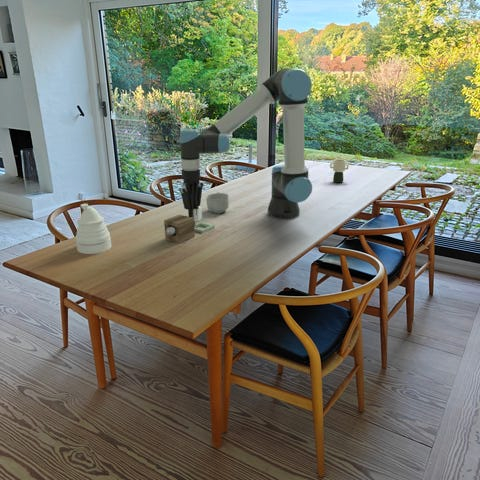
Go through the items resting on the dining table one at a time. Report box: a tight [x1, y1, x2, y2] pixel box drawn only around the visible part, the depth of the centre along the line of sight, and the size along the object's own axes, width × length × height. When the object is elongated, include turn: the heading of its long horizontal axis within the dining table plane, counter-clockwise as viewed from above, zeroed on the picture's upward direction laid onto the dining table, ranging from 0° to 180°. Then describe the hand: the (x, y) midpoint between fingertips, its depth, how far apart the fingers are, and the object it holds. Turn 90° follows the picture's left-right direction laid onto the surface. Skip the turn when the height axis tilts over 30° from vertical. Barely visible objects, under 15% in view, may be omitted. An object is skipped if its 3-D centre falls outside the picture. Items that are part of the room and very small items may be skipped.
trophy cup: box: [329, 158, 350, 183], centre depth 268 cm, size 11×7×13 cm, turn 64°
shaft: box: [166, 221, 195, 236], centre depth 184 cm, size 5×14×5 cm, turn 145°
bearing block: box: [163, 214, 196, 244], centre depth 184 cm, size 8×9×8 cm
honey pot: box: [75, 203, 112, 255], centre depth 173 cm, size 13×13×18 cm
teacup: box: [205, 191, 230, 214], centre depth 218 cm, size 14×11×8 cm
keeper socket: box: [194, 221, 215, 234], centre depth 195 cm, size 8×8×1 cm
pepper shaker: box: [196, 205, 203, 222], centre depth 205 cm, size 4×4×10 cm
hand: (193, 223), depth 191 cm, fingers closed
